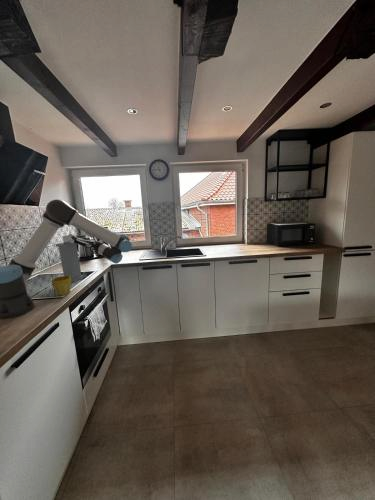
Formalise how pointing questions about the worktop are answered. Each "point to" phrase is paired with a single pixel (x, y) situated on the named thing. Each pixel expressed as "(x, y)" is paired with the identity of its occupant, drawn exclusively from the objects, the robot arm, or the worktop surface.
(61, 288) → the plant pot
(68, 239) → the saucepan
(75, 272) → the stand
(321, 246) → the worktop surface
